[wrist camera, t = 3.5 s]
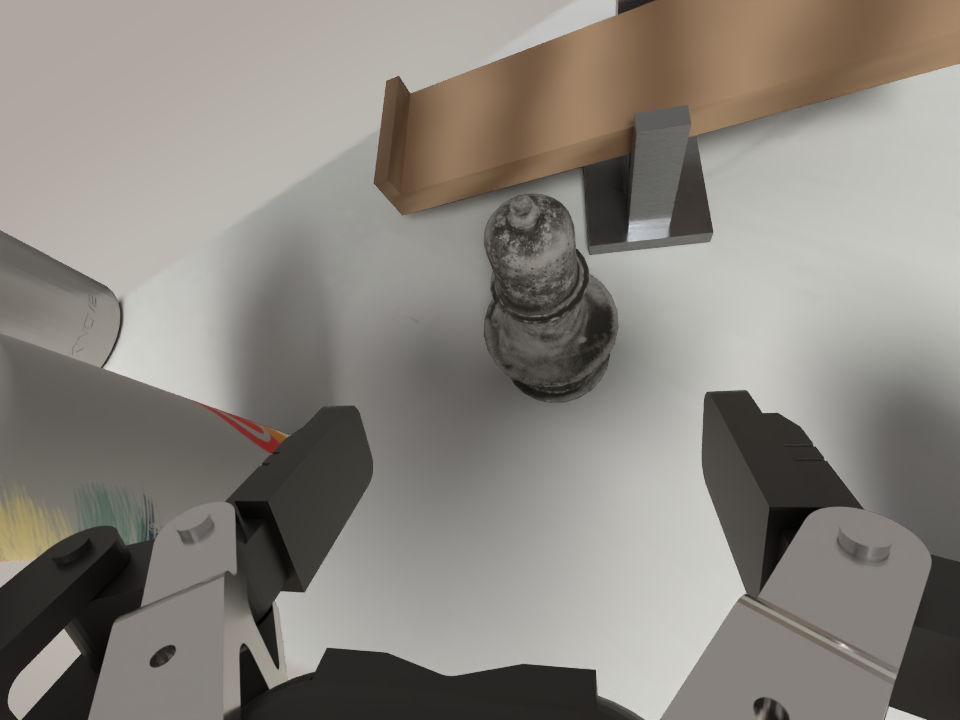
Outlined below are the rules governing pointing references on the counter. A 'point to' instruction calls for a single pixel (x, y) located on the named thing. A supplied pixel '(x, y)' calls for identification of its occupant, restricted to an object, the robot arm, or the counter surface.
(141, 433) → the lotion bottle
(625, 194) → the pivot stand
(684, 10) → the beam
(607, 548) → the counter surface
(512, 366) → the dark grey turned piece
